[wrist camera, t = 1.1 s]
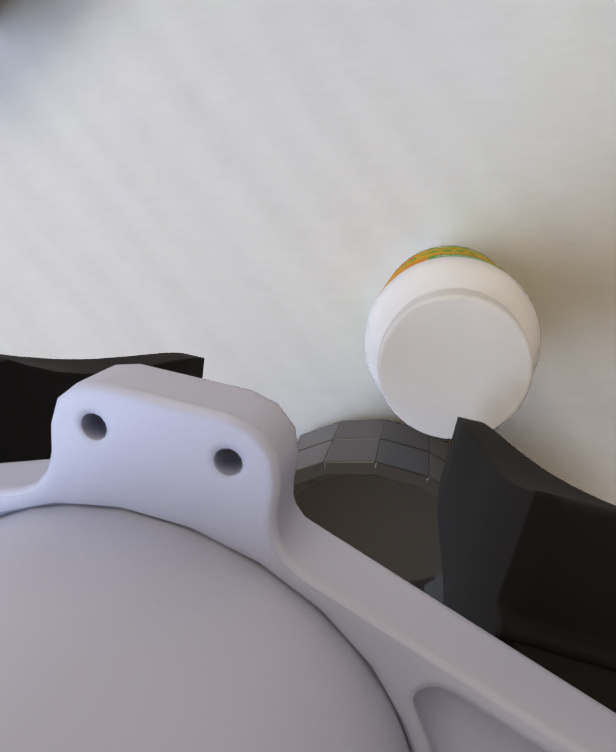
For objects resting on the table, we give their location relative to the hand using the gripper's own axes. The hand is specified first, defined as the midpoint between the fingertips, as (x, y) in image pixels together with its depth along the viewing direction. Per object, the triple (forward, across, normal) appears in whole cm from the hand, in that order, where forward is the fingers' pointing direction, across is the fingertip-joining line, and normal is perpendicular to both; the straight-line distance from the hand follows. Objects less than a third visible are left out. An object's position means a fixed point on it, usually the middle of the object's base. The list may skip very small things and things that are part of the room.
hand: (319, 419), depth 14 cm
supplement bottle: (+10, -3, -2) cm, 11 cm away
